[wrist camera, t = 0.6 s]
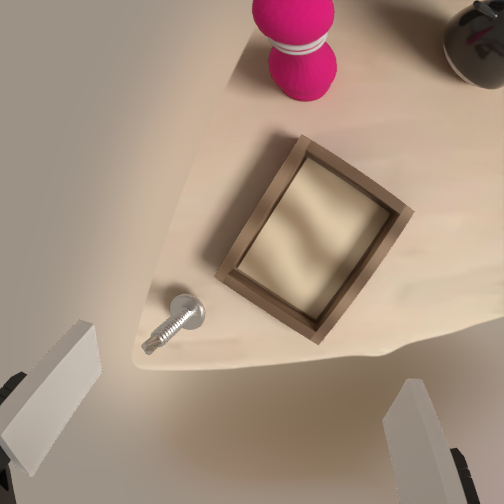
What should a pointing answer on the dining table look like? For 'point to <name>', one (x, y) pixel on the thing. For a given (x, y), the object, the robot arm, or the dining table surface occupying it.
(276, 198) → the walnut tray
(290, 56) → the pepper mill
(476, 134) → the dining table surface
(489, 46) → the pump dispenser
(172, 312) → the screw
